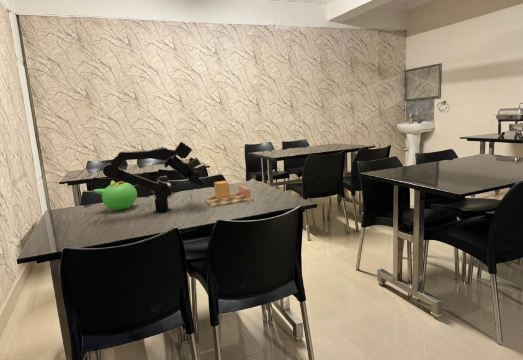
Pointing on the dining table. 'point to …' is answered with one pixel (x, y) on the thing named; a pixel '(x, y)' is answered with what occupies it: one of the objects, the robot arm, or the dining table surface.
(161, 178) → the medicine bottle
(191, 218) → the dining table surface
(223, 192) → the orange block
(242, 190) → the stop band
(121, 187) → the green teapot
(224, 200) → the checkered wooden board
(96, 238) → the dining table surface
